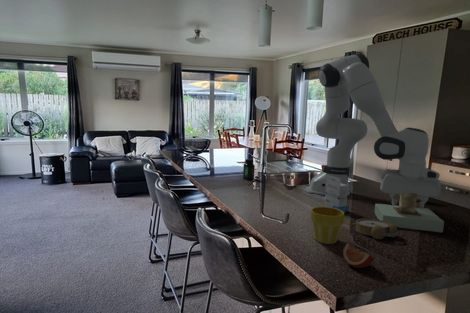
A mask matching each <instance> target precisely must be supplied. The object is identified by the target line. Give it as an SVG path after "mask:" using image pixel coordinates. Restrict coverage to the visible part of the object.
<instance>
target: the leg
mask: <svg viewBox="0 0 470 313" xmlns="http://www.w3.org/2000/svg"><path fill="white" fill-rule="evenodd" d="M417 198H418V196H417V194H416V193H404V194H399V201H398V202H399V203H398V206H399V211H400V213H409V214H415V208H417V207H416V206H417Z"/></svg>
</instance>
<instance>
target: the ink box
mask: <svg viewBox="0 0 470 313" xmlns="http://www.w3.org/2000/svg"><path fill="white" fill-rule="evenodd" d="M331 179H334V180H336V181H332V180H331ZM340 182H341V179H340V178H336V177H333V176H329V175H327V182H326V194H325V195H324V196H325V197H324V207H331V208H336V209H339V210H341V211H343V212H344V213H347V209H348V208H347V206H348V196H349V195H348V185H345V184H342V183H340Z"/></svg>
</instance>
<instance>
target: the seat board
mask: <svg viewBox="0 0 470 313" xmlns="http://www.w3.org/2000/svg"><path fill="white" fill-rule="evenodd" d="M374 214H375V216H376V218H377V220H378V219H379V220H381V221H385V222H388V223H389V224H390V225H391V224H394V225H395V226H396V227H397V228H398V227H399V228H401V229H406V230H407V229H410V230H419V231H428V232H436V233H443V232H444V225H445V221H444V220H443V219H441V217H439V215H437V214H435V212H434V211H432V210H431V209H430V208H425V207H424V208H421V207H416V208H415V214H409V213H400V211H399V205H391V204H384V203H375V205H374Z"/></svg>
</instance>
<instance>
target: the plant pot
mask: <svg viewBox="0 0 470 313" xmlns="http://www.w3.org/2000/svg"><path fill="white" fill-rule="evenodd" d="M310 220H311V222H312V227H313V232H314V234H313V235H314V239H315V240H316V241H317V242H318V243H321V244H326V245H333V244H335V243H337V240H338V237H339V234H340V230H341V227H342V225H344V221H345V212H343V211H341V210H339V209H336V208H331V207H325V206H316V207H312V208H311V210H310Z"/></svg>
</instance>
